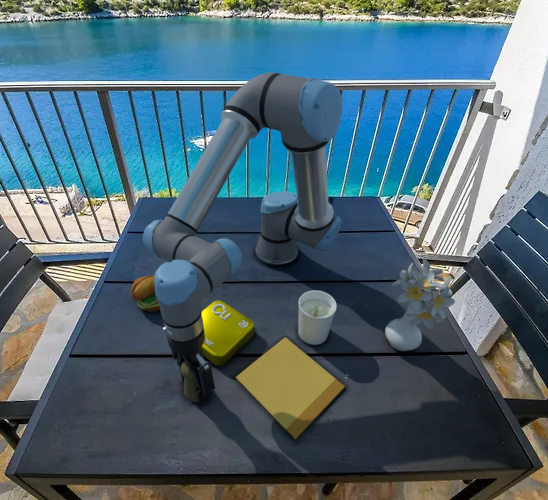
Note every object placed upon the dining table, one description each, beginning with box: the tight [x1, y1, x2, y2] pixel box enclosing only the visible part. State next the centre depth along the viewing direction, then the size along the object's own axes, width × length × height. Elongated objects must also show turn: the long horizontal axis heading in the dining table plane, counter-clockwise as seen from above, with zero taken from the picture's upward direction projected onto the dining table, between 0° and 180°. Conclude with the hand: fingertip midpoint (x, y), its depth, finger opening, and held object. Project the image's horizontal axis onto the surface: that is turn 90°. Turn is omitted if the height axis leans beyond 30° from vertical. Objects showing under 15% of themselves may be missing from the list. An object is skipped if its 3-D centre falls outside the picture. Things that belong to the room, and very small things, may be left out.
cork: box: [180, 360, 199, 403], centre depth 81 cm, size 6×6×11 cm
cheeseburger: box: [130, 274, 160, 313], centre depth 105 cm, size 10×11×10 cm
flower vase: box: [384, 259, 456, 352], centre depth 87 cm, size 13×18×25 cm
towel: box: [235, 337, 346, 440], centre depth 86 cm, size 18×20×1 cm
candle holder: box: [297, 289, 338, 346], centre depth 94 cm, size 10×10×12 cm
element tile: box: [201, 299, 255, 367], centre depth 96 cm, size 15×15×5 cm
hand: (196, 389), depth 84 cm, fingers closed on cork, 6 cm apart
